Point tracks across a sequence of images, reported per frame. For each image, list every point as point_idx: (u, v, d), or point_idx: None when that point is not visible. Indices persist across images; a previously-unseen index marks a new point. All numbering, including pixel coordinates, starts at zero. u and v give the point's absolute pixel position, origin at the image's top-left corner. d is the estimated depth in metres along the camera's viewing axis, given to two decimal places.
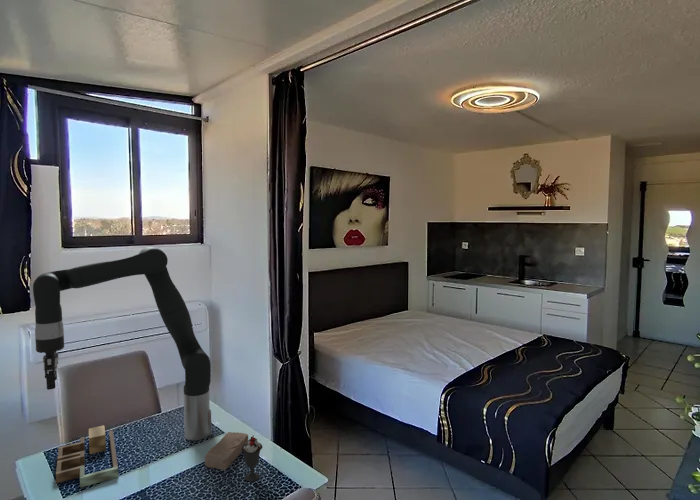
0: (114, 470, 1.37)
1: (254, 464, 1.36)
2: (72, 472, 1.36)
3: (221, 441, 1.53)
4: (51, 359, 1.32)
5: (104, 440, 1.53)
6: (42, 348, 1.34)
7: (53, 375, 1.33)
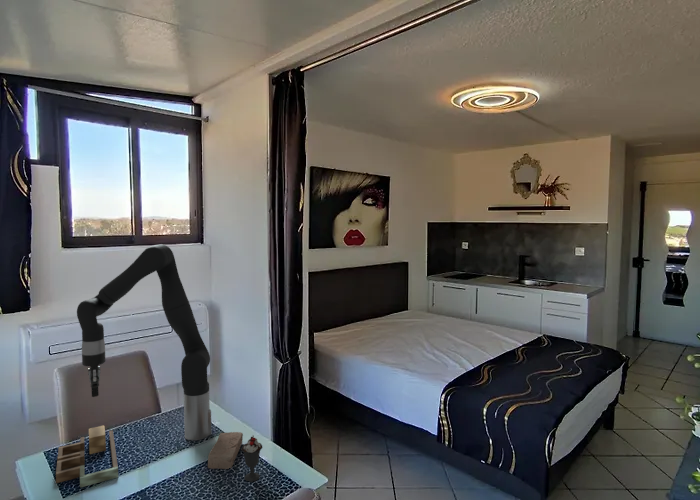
0: (114, 470, 1.37)
1: (254, 464, 1.36)
2: (72, 472, 1.36)
3: (218, 442, 1.52)
4: (96, 378, 1.57)
5: (104, 440, 1.53)
6: (88, 363, 1.57)
7: (97, 386, 1.60)
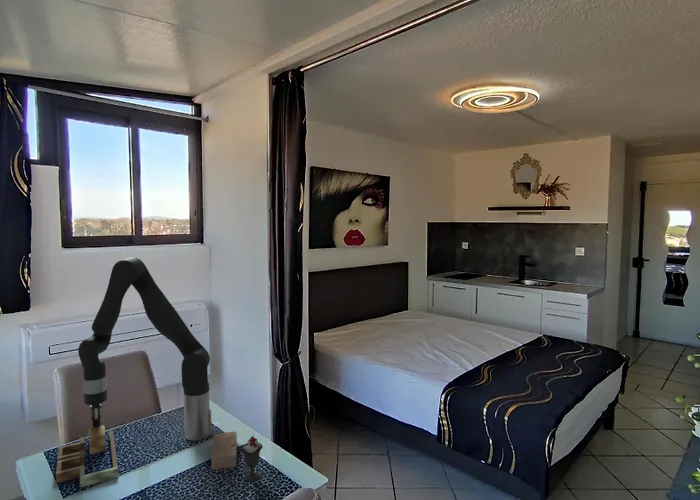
0: (114, 470, 1.37)
1: (254, 464, 1.36)
2: (72, 472, 1.36)
3: (215, 443, 1.51)
4: (98, 417, 1.55)
5: (104, 440, 1.53)
6: (90, 402, 1.56)
7: (99, 424, 1.58)
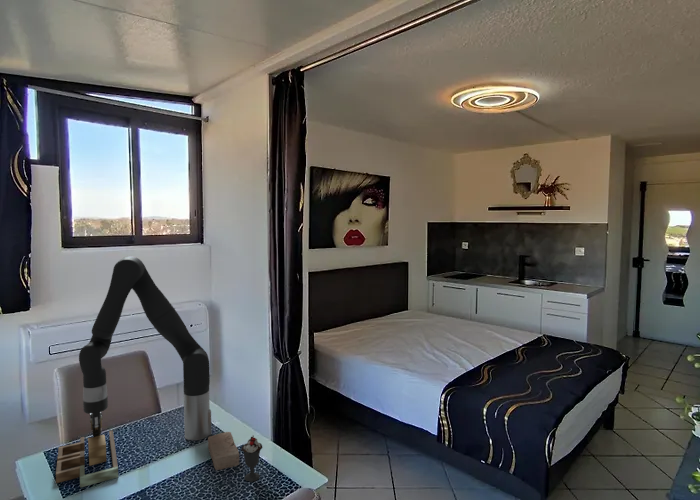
0: (114, 470, 1.37)
1: (254, 464, 1.36)
2: (72, 472, 1.36)
3: (213, 445, 1.50)
4: (98, 426, 1.49)
5: (105, 450, 1.46)
6: (90, 410, 1.49)
7: (99, 433, 1.52)
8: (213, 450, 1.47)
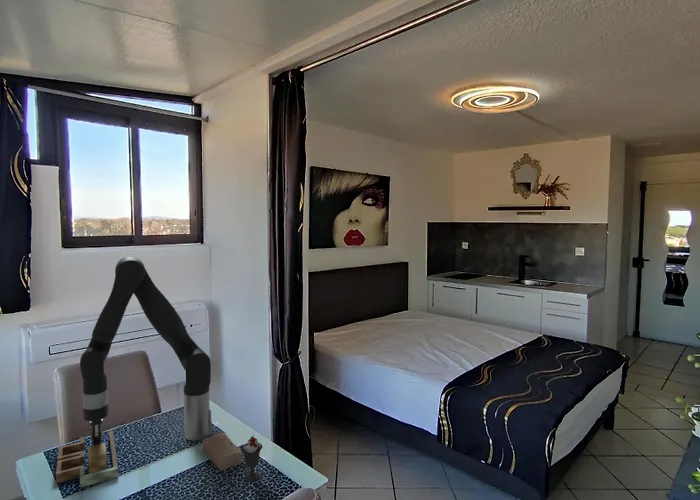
0: (114, 470, 1.37)
1: (254, 464, 1.36)
2: (72, 472, 1.36)
3: (211, 446, 1.49)
4: (98, 435, 1.43)
5: (105, 460, 1.40)
6: (90, 417, 1.44)
7: (100, 442, 1.46)
8: (214, 451, 1.46)
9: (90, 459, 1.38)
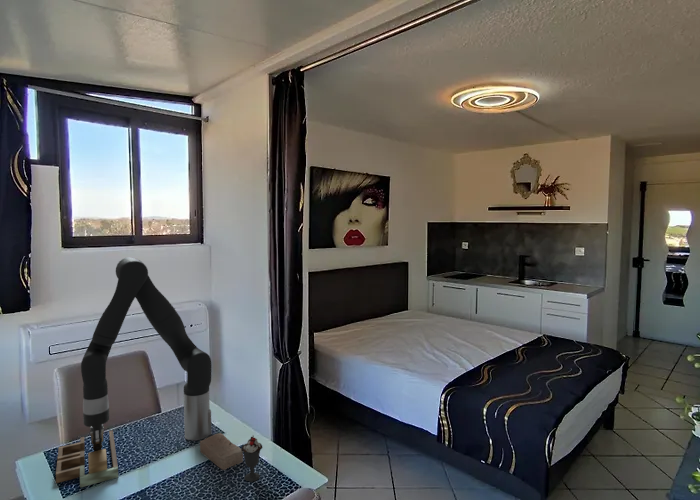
0: (114, 470, 1.37)
1: (254, 464, 1.36)
2: (72, 472, 1.36)
3: (211, 447, 1.49)
4: (99, 440, 1.39)
5: (105, 466, 1.37)
6: (90, 423, 1.40)
7: (100, 448, 1.42)
8: (214, 452, 1.46)
9: (90, 466, 1.34)
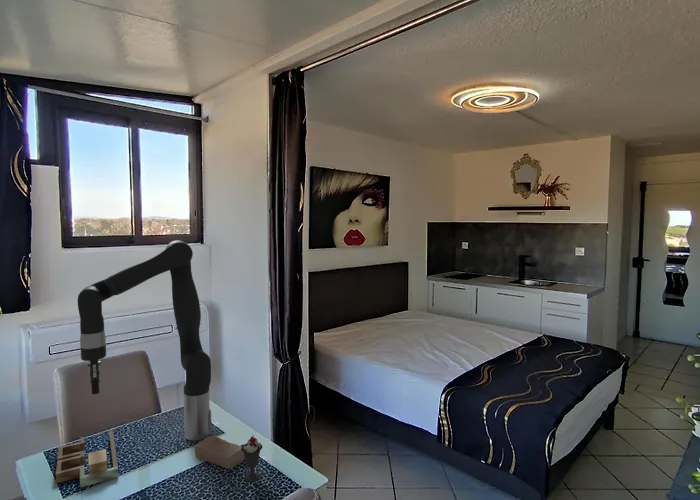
0: (114, 470, 1.37)
1: (254, 464, 1.36)
2: (72, 472, 1.36)
3: (210, 449, 1.47)
4: (96, 374, 1.43)
5: (105, 467, 1.37)
6: (87, 357, 1.43)
7: (98, 382, 1.46)
8: (216, 453, 1.45)
9: (90, 466, 1.34)
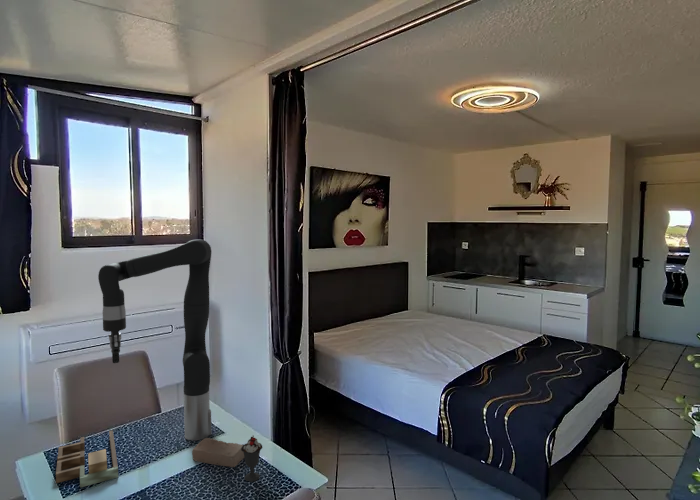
0: (114, 470, 1.37)
1: (254, 464, 1.36)
2: (72, 472, 1.36)
3: (210, 451, 1.46)
4: (117, 343, 1.55)
5: (105, 467, 1.37)
6: (109, 328, 1.56)
7: (118, 352, 1.58)
8: (219, 453, 1.45)
9: (90, 466, 1.34)
